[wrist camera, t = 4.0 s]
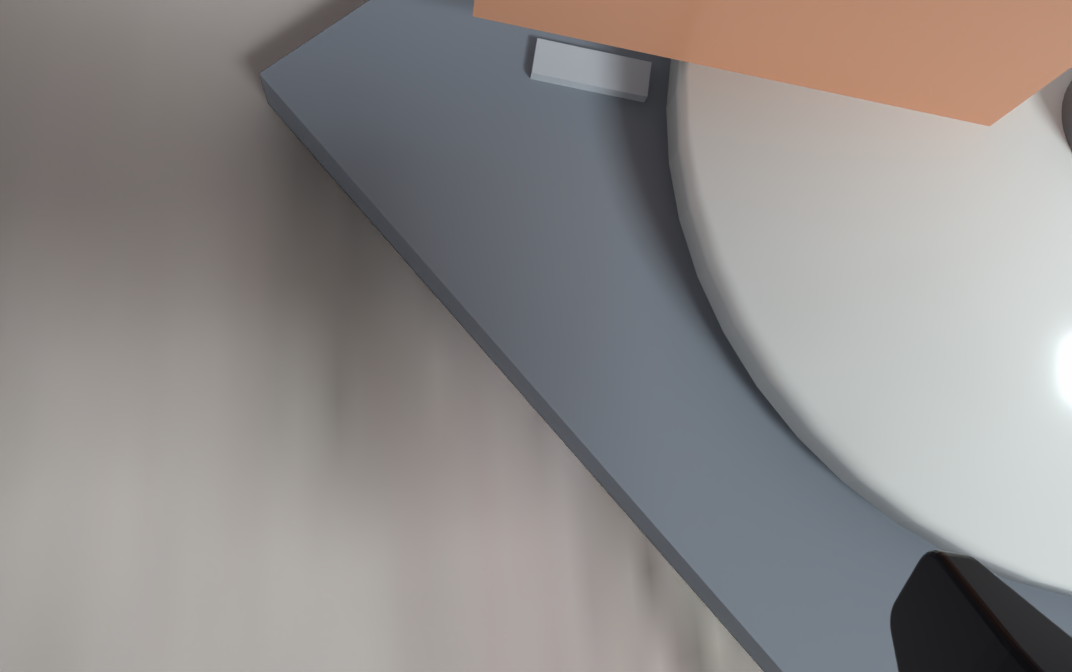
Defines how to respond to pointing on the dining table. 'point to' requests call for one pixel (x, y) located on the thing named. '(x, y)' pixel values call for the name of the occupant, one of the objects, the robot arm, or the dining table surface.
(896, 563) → the board
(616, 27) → the dial
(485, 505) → the dining table surface
